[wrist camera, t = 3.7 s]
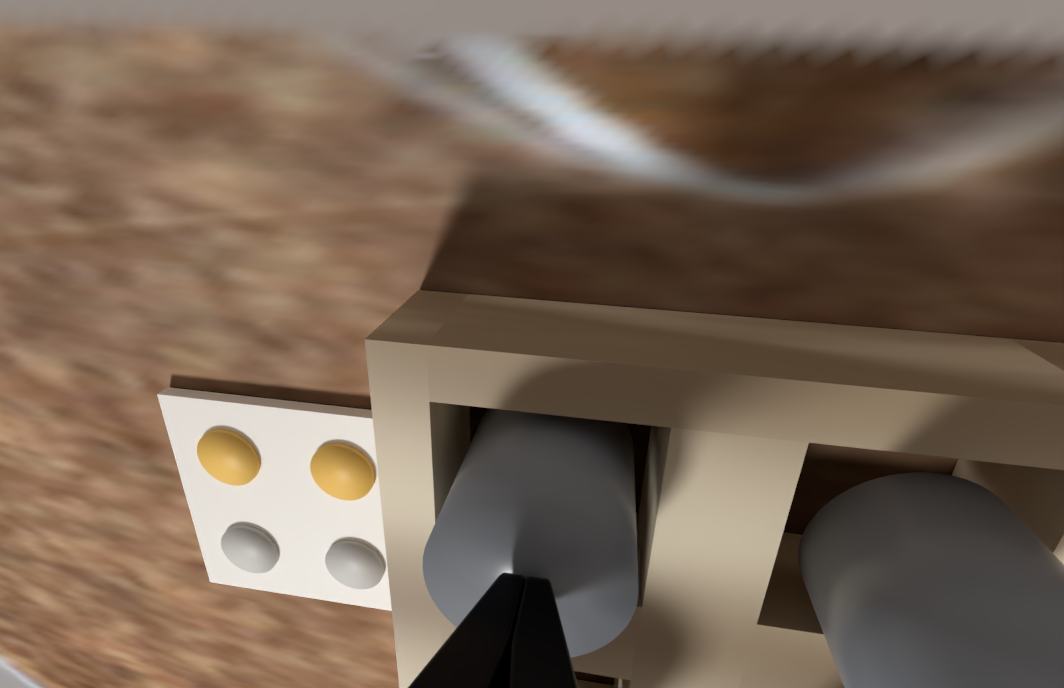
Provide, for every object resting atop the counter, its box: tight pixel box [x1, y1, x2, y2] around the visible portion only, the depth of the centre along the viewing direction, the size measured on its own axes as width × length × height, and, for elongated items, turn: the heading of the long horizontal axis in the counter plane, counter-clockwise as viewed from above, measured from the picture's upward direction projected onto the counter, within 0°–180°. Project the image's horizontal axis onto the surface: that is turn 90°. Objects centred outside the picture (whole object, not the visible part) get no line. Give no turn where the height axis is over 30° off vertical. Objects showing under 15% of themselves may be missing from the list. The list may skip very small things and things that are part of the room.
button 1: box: [798, 472, 1064, 688], centre depth 9 cm, size 4×4×4 cm
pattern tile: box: [157, 387, 392, 611], centre depth 16 cm, size 7×7×1 cm
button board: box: [365, 290, 1064, 688], centre depth 14 cm, size 14×14×3 cm
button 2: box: [423, 408, 639, 658], centre depth 11 cm, size 4×4×4 cm
